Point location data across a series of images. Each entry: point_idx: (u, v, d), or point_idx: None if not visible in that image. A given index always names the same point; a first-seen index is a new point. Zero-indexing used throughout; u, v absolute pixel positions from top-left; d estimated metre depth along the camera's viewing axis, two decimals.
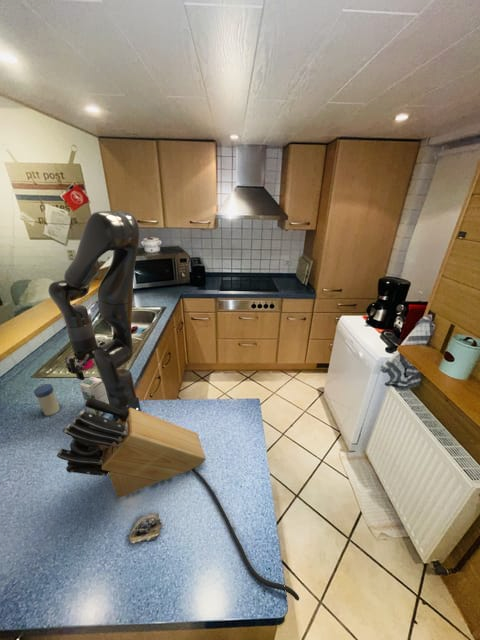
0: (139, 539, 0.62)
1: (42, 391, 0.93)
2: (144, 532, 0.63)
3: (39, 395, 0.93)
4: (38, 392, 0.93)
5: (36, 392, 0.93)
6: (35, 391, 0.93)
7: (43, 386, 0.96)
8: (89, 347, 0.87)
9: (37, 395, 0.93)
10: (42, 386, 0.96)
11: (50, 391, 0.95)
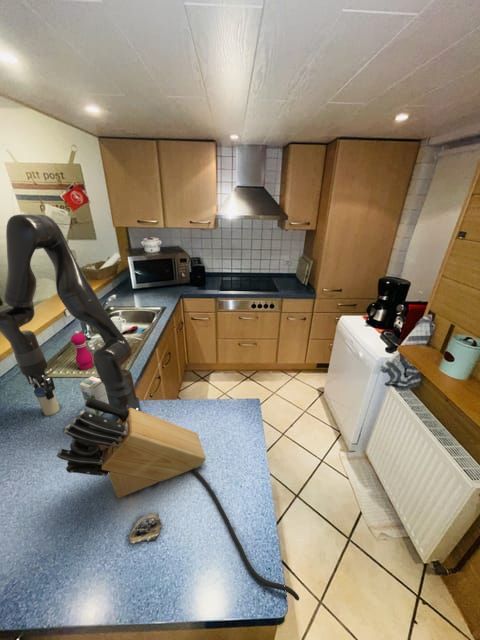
0: (139, 539, 0.62)
1: (42, 391, 0.93)
2: (144, 532, 0.63)
3: (39, 395, 0.93)
4: (38, 392, 0.93)
5: (36, 392, 0.93)
6: (35, 391, 0.93)
7: None
8: None
9: (37, 395, 0.93)
10: None
11: None
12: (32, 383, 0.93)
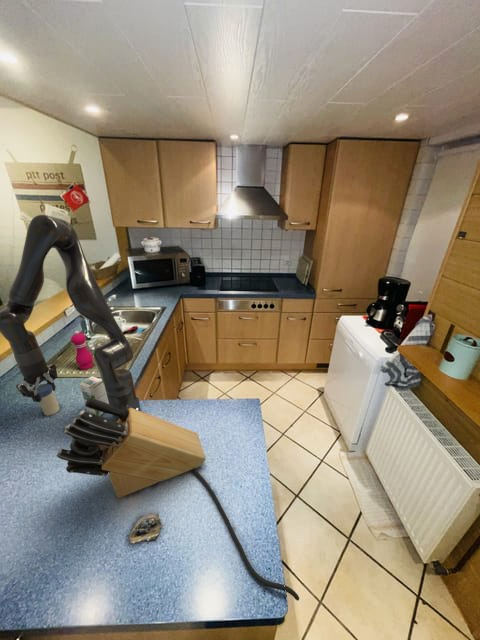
0: (139, 539, 0.62)
1: (48, 386, 0.96)
2: (144, 532, 0.63)
3: (51, 388, 0.96)
4: (48, 387, 0.95)
5: (47, 389, 0.94)
6: (45, 390, 0.93)
7: (37, 390, 0.94)
8: None
9: (50, 389, 0.95)
10: (37, 390, 0.93)
11: None
12: (38, 386, 0.91)
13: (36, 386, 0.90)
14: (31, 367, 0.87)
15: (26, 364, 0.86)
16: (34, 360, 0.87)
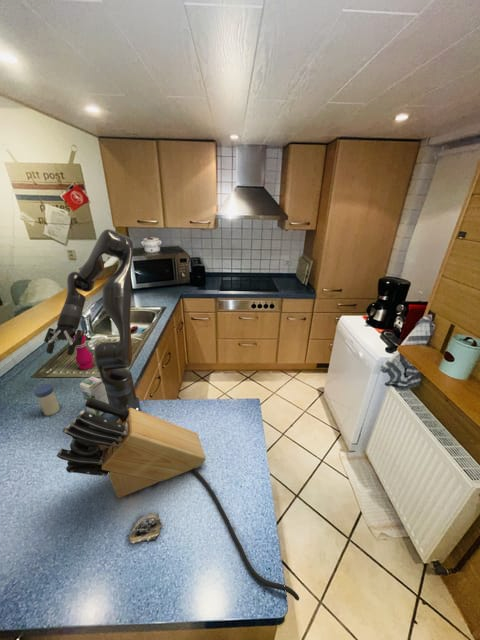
0: (139, 539, 0.62)
1: (47, 385, 0.97)
2: (144, 533, 0.63)
3: (52, 386, 0.97)
4: (50, 386, 0.96)
5: (50, 387, 0.96)
6: (49, 388, 0.95)
7: (39, 391, 0.94)
8: None
9: (52, 387, 0.97)
10: (39, 391, 0.94)
11: None
12: (54, 338, 1.02)
13: (53, 336, 1.02)
14: (59, 316, 1.04)
15: (60, 314, 1.05)
16: (62, 311, 1.04)
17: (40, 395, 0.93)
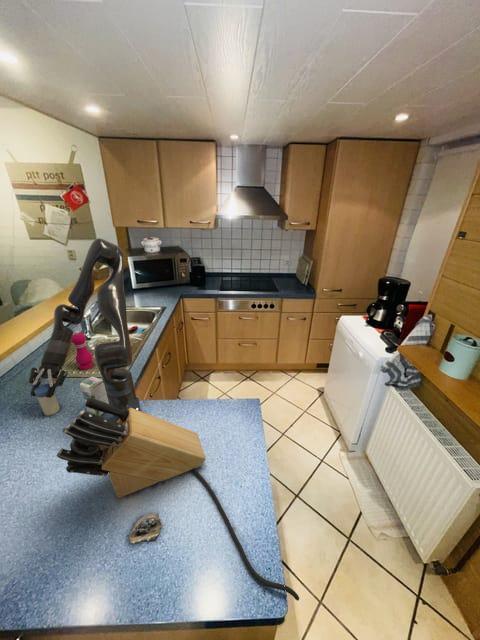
0: (139, 539, 0.62)
1: (47, 385, 0.97)
2: (144, 532, 0.63)
3: None
4: None
5: None
6: None
7: (39, 391, 0.94)
8: None
9: None
10: (39, 391, 0.94)
11: None
12: (38, 378, 0.95)
13: (37, 376, 0.95)
14: None
15: None
16: (47, 348, 0.97)
17: (40, 395, 0.93)
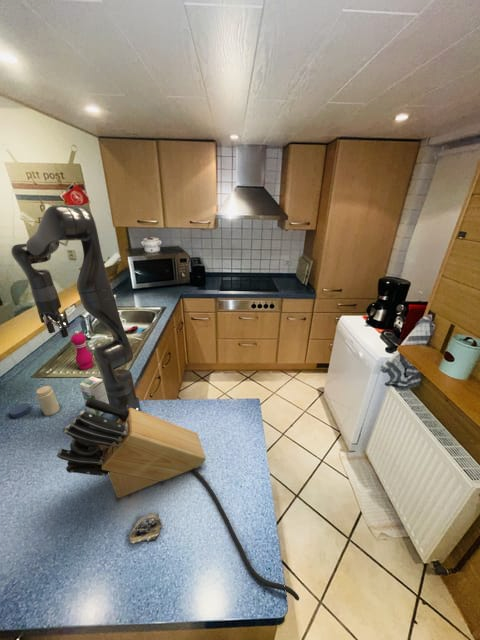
0: (139, 539, 0.62)
1: (23, 405, 0.99)
2: (144, 533, 0.63)
3: (28, 406, 1.00)
4: (25, 406, 0.99)
5: (26, 407, 0.98)
6: (24, 408, 0.98)
7: (15, 411, 0.96)
8: None
9: (28, 407, 1.00)
10: (15, 411, 0.96)
11: None
12: (45, 321, 0.99)
13: (44, 319, 0.99)
14: None
15: None
16: (33, 297, 0.93)
17: (15, 415, 0.96)
